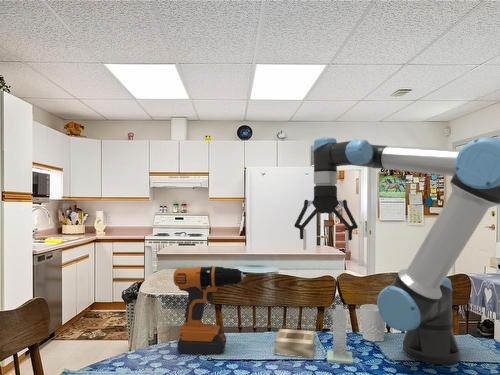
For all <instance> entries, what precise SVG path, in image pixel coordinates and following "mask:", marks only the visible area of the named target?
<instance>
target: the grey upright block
mask: <svg viewBox="0 0 500 375" xmlns="http://www.w3.org/2000/svg"><path fill="white" fill-rule="evenodd" d="M332 333H333V334H332V345H333V346H332V347H333V348H332V349H333V358H344V359H347V354H346V352H347V312H346V311H344V306H343V304H335V310H333V311H332Z"/></svg>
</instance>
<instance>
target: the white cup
mask: <svg viewBox="0 0 500 375" xmlns="http://www.w3.org/2000/svg"><path fill="white" fill-rule="evenodd" d="M359 307H360V321H361V324H360V325H361V332H362V339H364V340H366V341H367V342H373V343H374V342H375V341H380V342H382V341H381V340H383V339H384V340H385V331H386V322H385V321H384V320H383V319H382V317H381V315H380V313H379V309H378V307H377V304H371V303H370V304H362V305H360V306H359ZM384 340H383V341H384ZM375 343H376V342H375Z"/></svg>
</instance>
